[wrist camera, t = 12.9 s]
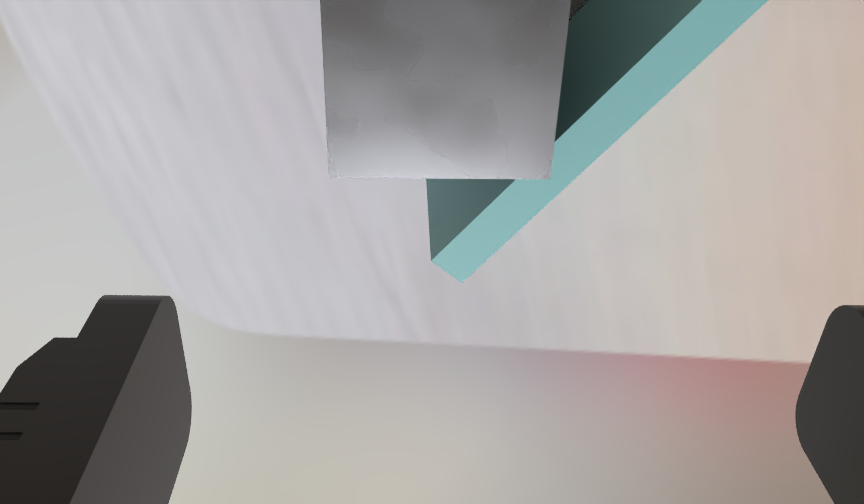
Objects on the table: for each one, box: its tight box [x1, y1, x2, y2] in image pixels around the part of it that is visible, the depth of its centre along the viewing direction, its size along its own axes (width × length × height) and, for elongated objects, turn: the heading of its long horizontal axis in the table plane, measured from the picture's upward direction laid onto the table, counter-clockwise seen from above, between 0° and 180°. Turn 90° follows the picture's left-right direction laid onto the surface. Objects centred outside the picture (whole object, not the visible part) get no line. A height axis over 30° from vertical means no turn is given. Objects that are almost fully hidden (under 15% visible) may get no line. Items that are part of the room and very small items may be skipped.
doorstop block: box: [320, 0, 571, 179], centre depth 21 cm, size 6×6×8 cm
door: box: [426, 0, 768, 283], centre depth 22 cm, size 18×1×6 cm, turn 138°
